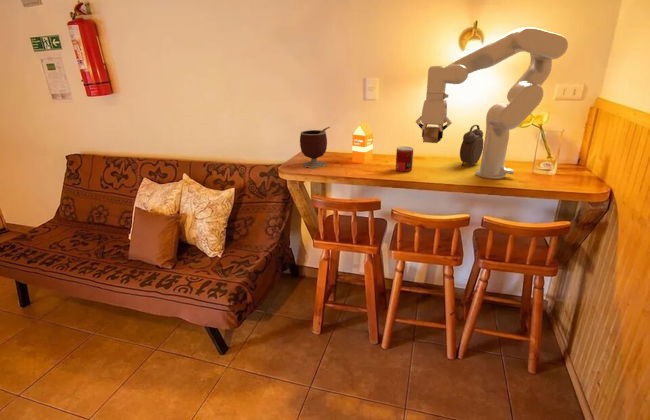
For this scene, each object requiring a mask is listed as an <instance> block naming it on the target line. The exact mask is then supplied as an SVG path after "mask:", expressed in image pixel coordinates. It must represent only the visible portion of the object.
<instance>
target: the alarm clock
mask: <svg viewBox="0 0 650 420" xmlns="http://www.w3.org/2000/svg"><path fill="white" fill-rule="evenodd" d="M475 127H476V129H474V128H475ZM483 136H484V132H483V130H482V129H481V128H480V125H479V124H473V125H471V126H470V128H469V131H466V133H464V134H463V136H462V142H461V145H460V149H459V157H460V158H459V159H460V161H461V162H462V163H461V167H463V166H464V163H465V164H469V167H471V166H472V165H475V164H478V163H479V161H480V158H482V154H483V148H484V138H483Z"/></svg>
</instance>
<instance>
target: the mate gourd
mask: <svg viewBox="0 0 650 420" xmlns="http://www.w3.org/2000/svg"><path fill="white" fill-rule="evenodd" d="M328 129H330V126H328V127H325V128H323V129H321V130H320V129H310V130H303V131H301V132H300V136H299V147H300V150H301V151H300V152H301V153H302V154H303V156H305V157H307V158H309V159H311V160H310V161H309V160H308V161H305V162H303V163H302V167H303V166H304V167H303V168H306V167H309V168H308V169H318V168H317V167H321V168H323V166H324V167H325V165H326V166H327V162H325V161H322V160H318V158H320V157H323V156H324V154H325V153H326V152H327V148H328V138H327V132H326V130H328Z"/></svg>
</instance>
